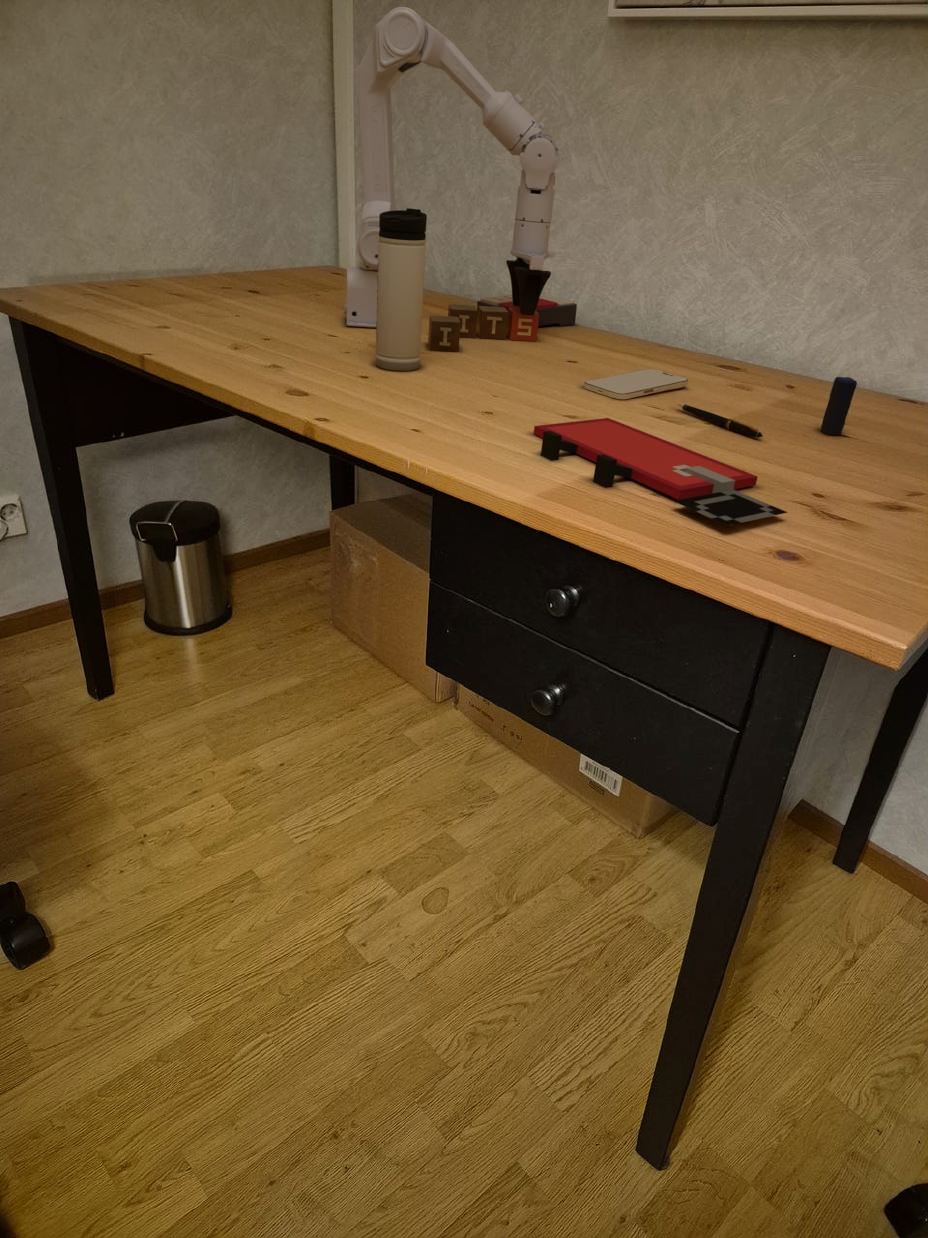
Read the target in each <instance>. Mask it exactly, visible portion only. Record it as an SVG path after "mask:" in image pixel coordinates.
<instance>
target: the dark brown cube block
mask: <svg viewBox="0 0 928 1238" xmlns="http://www.w3.org/2000/svg"><path fill="white" fill-rule="evenodd" d="M447 316H451V317H458V319H459V320H460V322H461V325H460V338H467V339H476V338H477V320H478V310H477V306H476V305H472V304H455V303H448V311H447Z"/></svg>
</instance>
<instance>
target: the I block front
mask: <svg viewBox="0 0 928 1238" xmlns="http://www.w3.org/2000/svg"><path fill="white" fill-rule="evenodd" d="M460 325H461V322H460V320H459V319H458V317H451V316H448V315H434V314H430V315H429V321H428V339H427V345H428V349H429V351H433V352H449V353H450V352H452V353H459V352H460V340H461V339H460V338H461V337H460Z"/></svg>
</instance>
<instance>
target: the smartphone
mask: <svg viewBox="0 0 928 1238" xmlns="http://www.w3.org/2000/svg"><path fill="white" fill-rule="evenodd" d="M688 382H689V379H688V378H686V377H683V376H680V375H676V374H673V373H668V372H666V371H661V370H658V369H656V368H655V369H654V368H645V369H640V370H636V371H631V372H630V371H629V372H625V373H621V374H614V375H610V376H605V377H599V378H594V379H590V380H585V381H584V385H583V388H584V389H585V390H588V391H591V392H595V393H597V394H600V395H603V396H606V397H609V398H613V399H615V400H628V399H633V398H637V397H642V396H647V395H650V394H655V393H660V392H665V391H671V390H677V389H681V388H683V387H687V386H688Z"/></svg>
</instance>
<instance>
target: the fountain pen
mask: <svg viewBox="0 0 928 1238" xmlns="http://www.w3.org/2000/svg"><path fill="white" fill-rule="evenodd" d="M676 405H677V406H678V407H680V408H681V409H682V411H684V412H686V413H689V414H691V415H693V416H695V417H699V418H701V419H703V420H706V421H708V422H710V423H712V424H716V425H718V426H721V427H724V428H725V429H727V430H730V431H733V432H736V433H739V434H741V435H745V436H748V437H752V438H756V439H757V438H759V439H760V438H762V437H764V436H763V434H762V432H761V431H760V430H759V429H758V428H757V427H754V426H753V425H752V424H751V425H750V424H749V423H746V422H743V421H741V420H738V419H736V418H727V417H724V416H722V415H718V414H716V413H713V412H710V411H707V410H704V409H702V408H701V409H700V408H698V407H695V406H691V405H688V404H683V405H682V404H679V403H676Z"/></svg>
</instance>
